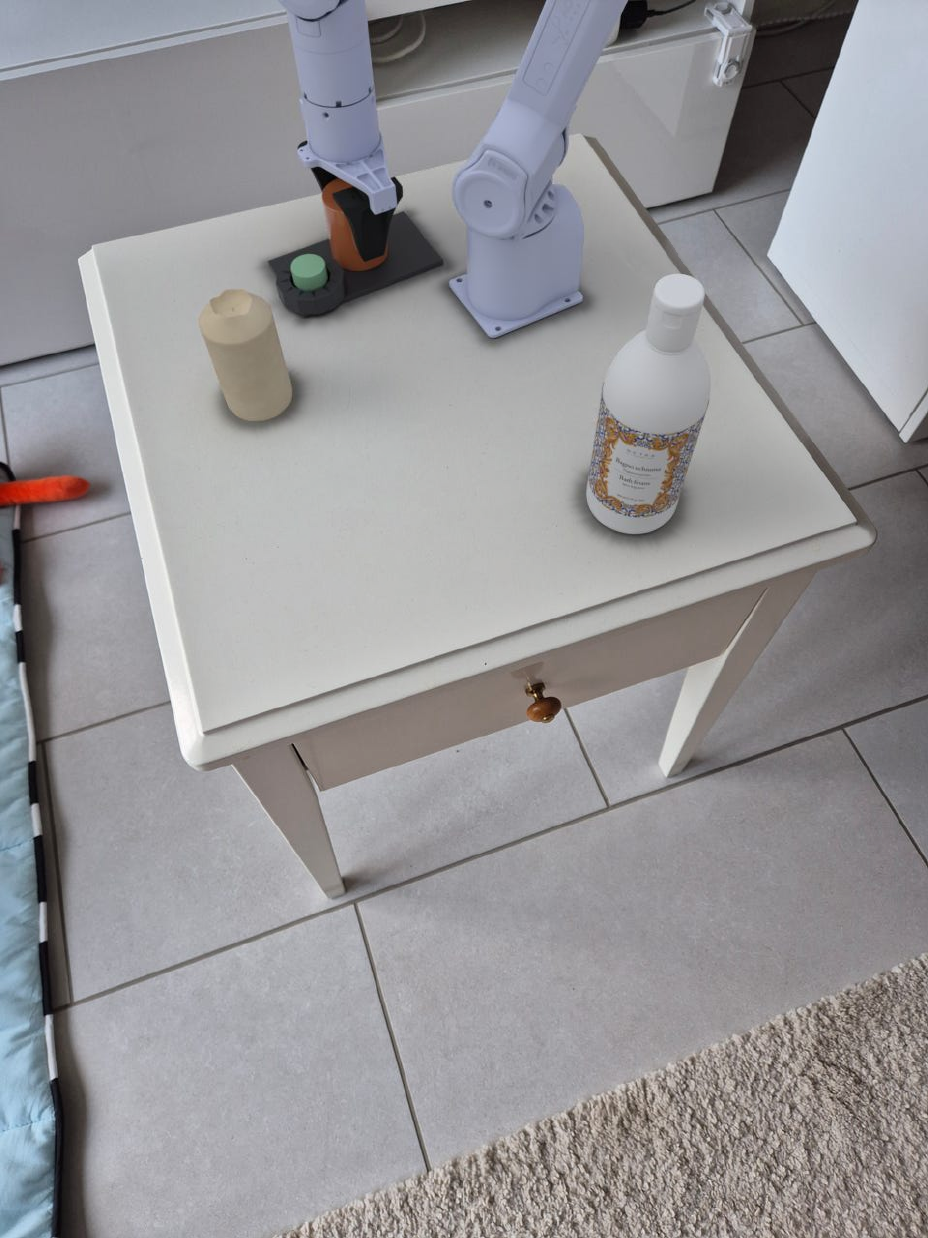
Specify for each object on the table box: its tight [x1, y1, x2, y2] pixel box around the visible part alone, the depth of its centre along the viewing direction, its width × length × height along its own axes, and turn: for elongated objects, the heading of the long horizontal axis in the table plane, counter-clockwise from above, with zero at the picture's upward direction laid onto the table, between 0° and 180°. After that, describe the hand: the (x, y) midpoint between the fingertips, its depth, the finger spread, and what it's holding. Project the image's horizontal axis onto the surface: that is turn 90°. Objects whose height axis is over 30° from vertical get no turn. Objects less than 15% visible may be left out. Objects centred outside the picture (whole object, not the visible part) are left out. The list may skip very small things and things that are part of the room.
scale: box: [267, 210, 444, 319], centre depth 81 cm, size 15×9×2 cm, turn 119°
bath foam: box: [585, 273, 712, 535], centre depth 60 cm, size 7×7×20 cm
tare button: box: [291, 254, 328, 291], centre depth 78 cm, size 3×3×2 cm
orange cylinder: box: [321, 178, 388, 271], centre depth 80 cm, size 5×5×6 cm
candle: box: [198, 288, 293, 422], centre depth 71 cm, size 6×6×10 cm
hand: (358, 237), depth 81 cm, fingers closed on orange cylinder, 5 cm apart
